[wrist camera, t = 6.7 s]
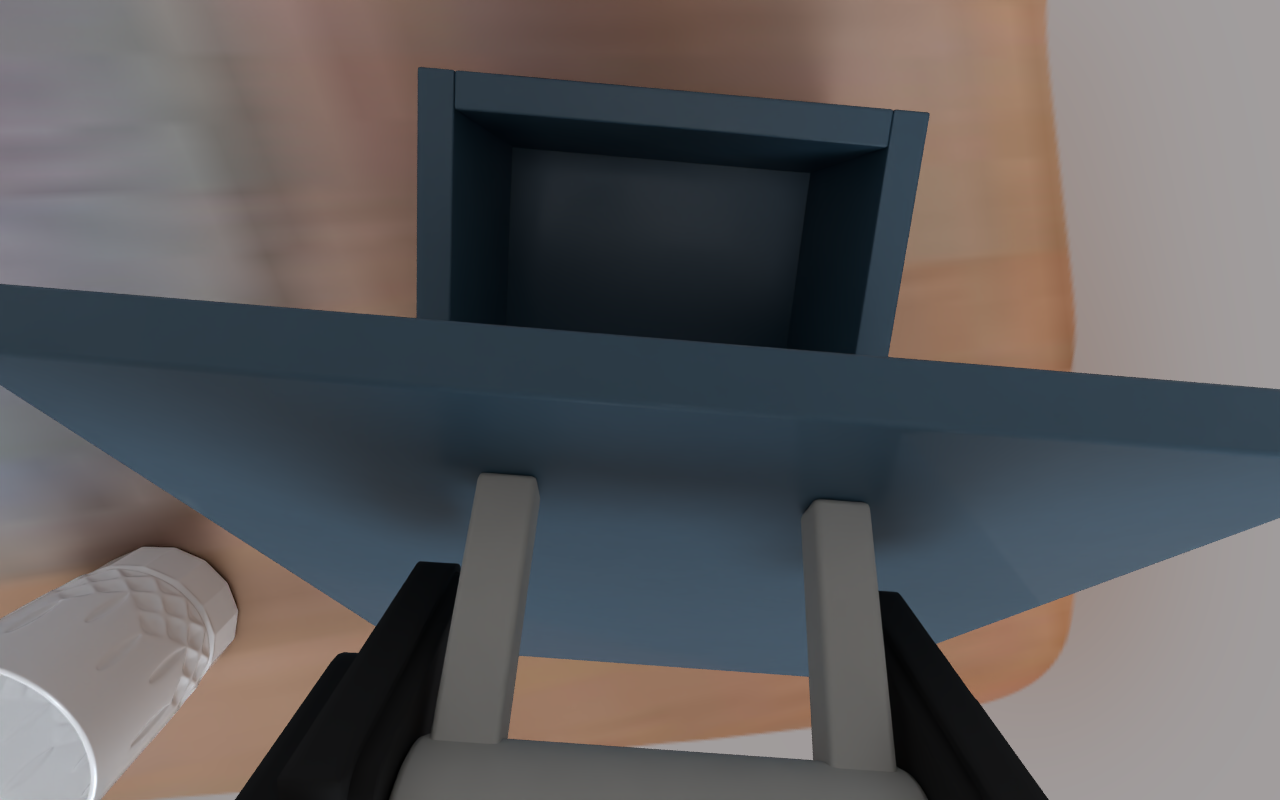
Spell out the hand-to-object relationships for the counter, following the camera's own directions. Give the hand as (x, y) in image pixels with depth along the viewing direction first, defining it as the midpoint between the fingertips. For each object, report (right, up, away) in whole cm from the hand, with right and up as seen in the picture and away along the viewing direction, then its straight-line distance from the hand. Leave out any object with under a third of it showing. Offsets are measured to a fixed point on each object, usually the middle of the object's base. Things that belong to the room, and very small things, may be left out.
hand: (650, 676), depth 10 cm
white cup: (-23, -6, +24) cm, 34 cm away
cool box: (0, +6, +21) cm, 22 cm away
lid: (0, 0, +5) cm, 5 cm away
